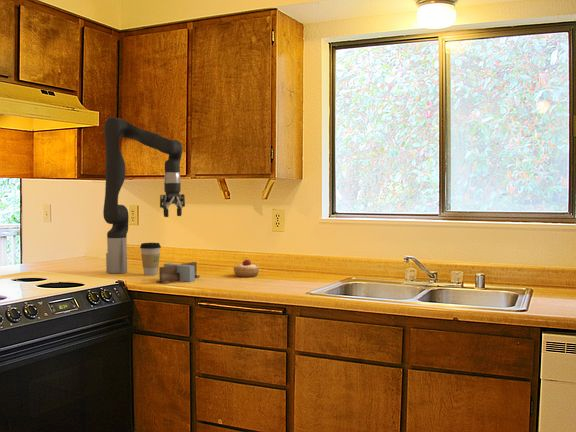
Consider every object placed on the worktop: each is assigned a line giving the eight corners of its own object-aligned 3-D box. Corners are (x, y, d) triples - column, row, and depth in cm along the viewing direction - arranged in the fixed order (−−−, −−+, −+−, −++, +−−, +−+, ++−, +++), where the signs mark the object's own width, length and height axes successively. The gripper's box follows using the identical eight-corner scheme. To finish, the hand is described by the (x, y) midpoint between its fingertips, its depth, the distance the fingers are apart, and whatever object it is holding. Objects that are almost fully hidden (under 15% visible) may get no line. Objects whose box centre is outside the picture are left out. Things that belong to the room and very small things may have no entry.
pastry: (261, 275, 298) (262, 257, 298) (255, 278, 287) (256, 259, 286) (237, 274, 301) (237, 255, 300) (230, 277, 289) (231, 258, 289)
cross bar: (164, 279, 284) (163, 263, 284) (168, 278, 287) (168, 263, 286) (190, 282, 275) (189, 266, 275) (194, 281, 278) (194, 265, 277)
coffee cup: (165, 274, 298) (164, 243, 297) (146, 276, 291) (146, 244, 290) (154, 272, 305) (154, 242, 304) (136, 274, 299) (136, 243, 298)
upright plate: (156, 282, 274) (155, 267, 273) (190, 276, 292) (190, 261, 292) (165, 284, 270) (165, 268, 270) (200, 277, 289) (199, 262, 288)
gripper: (177, 182, 301) (177, 215, 302) (155, 182, 289) (156, 217, 290) (188, 182, 297) (189, 216, 298) (167, 182, 285) (167, 217, 286)
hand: (172, 216), depth 294 cm, fingers open, 8 cm apart
